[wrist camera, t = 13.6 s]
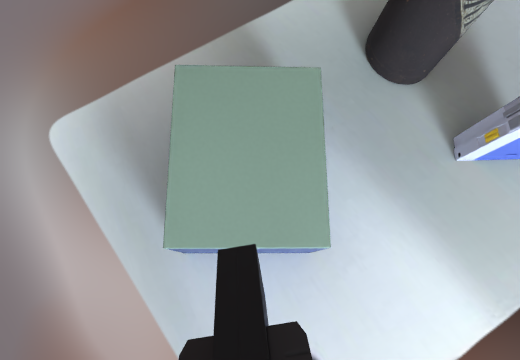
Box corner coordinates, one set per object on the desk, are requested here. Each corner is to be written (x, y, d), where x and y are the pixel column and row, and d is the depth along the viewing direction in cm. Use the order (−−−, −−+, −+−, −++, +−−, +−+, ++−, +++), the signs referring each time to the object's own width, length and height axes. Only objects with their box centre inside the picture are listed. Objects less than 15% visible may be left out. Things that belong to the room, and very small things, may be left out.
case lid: (176, 69, 31) (174, 64, 30) (318, 72, 31) (320, 67, 30) (165, 248, 27) (162, 248, 26) (328, 248, 27) (330, 247, 26)
